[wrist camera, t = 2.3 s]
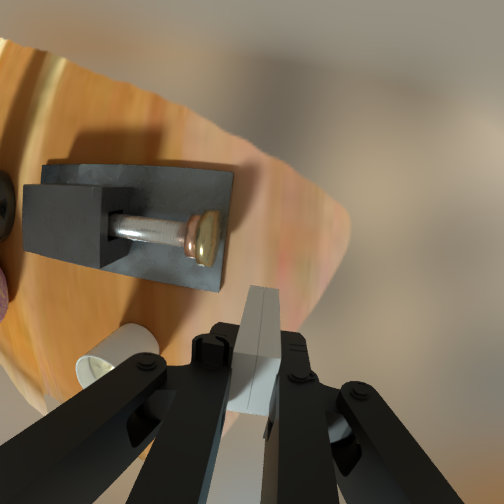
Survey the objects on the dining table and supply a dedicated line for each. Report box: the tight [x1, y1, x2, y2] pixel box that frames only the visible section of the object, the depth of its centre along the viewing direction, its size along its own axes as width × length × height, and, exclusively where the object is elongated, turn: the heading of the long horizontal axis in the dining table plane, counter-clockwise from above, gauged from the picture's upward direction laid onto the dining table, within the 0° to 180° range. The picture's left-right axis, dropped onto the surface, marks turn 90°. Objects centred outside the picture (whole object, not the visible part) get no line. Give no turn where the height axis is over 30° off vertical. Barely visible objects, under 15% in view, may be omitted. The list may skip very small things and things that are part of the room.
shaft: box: [108, 209, 222, 267], centre depth 33 cm, size 22×7×7 cm, turn 82°
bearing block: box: [22, 164, 234, 293], centre depth 33 cm, size 34×16×8 cm, turn 82°
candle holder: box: [76, 323, 160, 389], centre depth 36 cm, size 10×10×12 cm
